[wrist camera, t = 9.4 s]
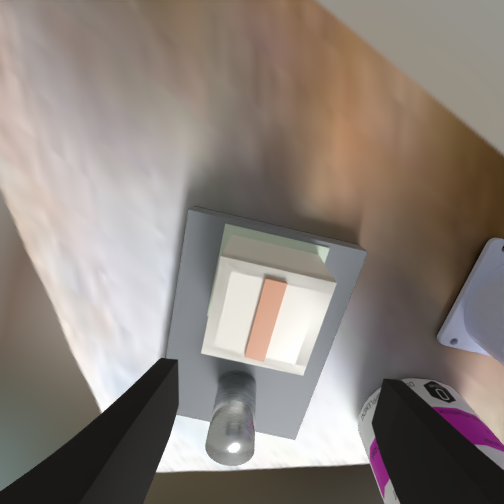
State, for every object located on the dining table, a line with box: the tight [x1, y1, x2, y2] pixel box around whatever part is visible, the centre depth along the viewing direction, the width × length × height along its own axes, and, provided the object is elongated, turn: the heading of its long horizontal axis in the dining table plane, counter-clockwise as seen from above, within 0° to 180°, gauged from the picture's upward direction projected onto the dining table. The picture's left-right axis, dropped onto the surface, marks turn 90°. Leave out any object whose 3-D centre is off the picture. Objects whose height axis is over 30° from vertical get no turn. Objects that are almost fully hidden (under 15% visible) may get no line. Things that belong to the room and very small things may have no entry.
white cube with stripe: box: [201, 234, 337, 376], centre depth 14 cm, size 5×5×4 cm
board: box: [166, 206, 368, 440], centre depth 19 cm, size 11×16×2 cm
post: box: [205, 371, 256, 466], centre depth 17 cm, size 3×3×4 cm
